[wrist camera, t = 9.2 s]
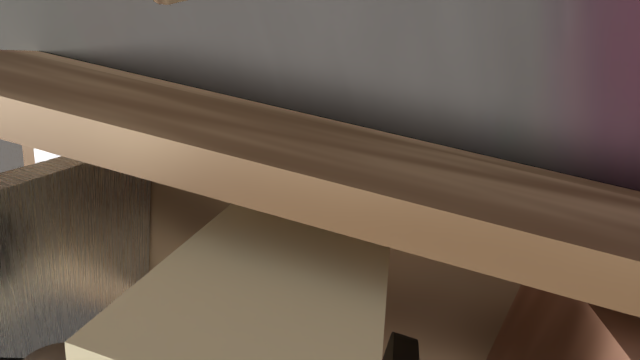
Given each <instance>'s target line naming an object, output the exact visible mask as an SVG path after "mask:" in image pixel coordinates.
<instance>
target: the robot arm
mask: <svg viewBox="0 0 640 360" xmlns="http://www.w3.org/2000/svg"><path fill="white" fill-rule="evenodd" d="M0 360H66V354H65V342H63V343H55V344H51V345H47V346H44V347H42V348H39V349H37V350H36V351H34V352H32V353H30V354H29V355H27V356H26V357H25V358H3V357H0ZM382 360H419V344H418V339H415V338H412V337H409V336H406V335H402V334H399V333H396V332H392V333H391V335H390V338H389V341H388V344H387V347H386V350H385V353H384V356H383V359H382Z"/></svg>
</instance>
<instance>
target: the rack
mask: <svg viewBox="0 0 640 360" xmlns="http://www.w3.org/2000/svg"><path fill="white" fill-rule="evenodd" d="M0 139H2V140H6V141H9V142H13V143H16V144H20V145H22V149H23V158H24V166H28V165H31V164H35V157H34V149H38V150H42V151H45V152H49V153H52V154H56V155H59V156H63V157H67V158H70V159H74V160H77V161H81V162H85V163H88V164H92V165H95V166H99V167H102V168H106V169H110V170H113V171H117V172H120V173H124V174H128V175H131V176H135V177H138V178H142V179H145V180H149V181H151V204H150V243H149V272H150V271H151V270H152V269H153V268H154V267H156V266H157V265H158V264H159V263H160V262H162V261H163V260H164V259H165V258H166V257H168V256H169V255H170V254H171V253H172V252H174V251H175V250H176V249H177V248H179V247H180V246H181V245H182V244H183V243H185V242H186V241H187V240H188V239H189V238H191V237H192V236H193V235H194V234H195V233H197V232H198V231H199V230H200V229H201V228H203V227H204V226H205V225H206V224H208V223H209V222H210V221H211V220H212V219H214V218H215V217H216V216H217V215H218V214H220V213H221V212H222V211H223V210H224V209H226V208H227V207H228V206H229V205H230V204H235V205H239V206H242V207H246V208H249V209H253V210H257V211H260V212H264V213H267V214H271V215H275V216H278V217H282V218H285V219H289V220H292V221H296V222H300V223H303V224H307V225H310V226H314V227H318V228H321V229H325V230H328V231H332V232H335V233H339V234H343V235H346V236H350V237H353V238H357V239H361V240H364V241H368V242H371V243H375V244H378V245H382V246H386V247H389V248H390V254H389V268H388V282H387V297H386V311H385V325H384V339H383V353H382V359H383V356H384V353H385V350H386V347H387V344H388V341H389V338H390V335H391V333H392V332H396V333H399V334H402V335H406V336H409V337H412V338H415V339H418V344H419V360H640V191H635V190H631V189H627V188H622V187H618V186H614V185H610V184H605V183H601V182H597V181H592V180H588V179H584V178H580V177H575V176H571V175H567V174H562V173H558V172H554V171H550V170H545V169H541V168H537V167H533V166H528V165H524V164H520V163H515V162H511V161H507V160H503V159H498V158H494V157H490V156H485V155H481V154H477V153H473V152H468V151H464V150H460V149H455V148H451V147H447V146H443V145H438V144H434V143H430V142H425V141H421V140H417V139H413V138H408V137H404V136H400V135H395V134H391V133H387V132H383V131H378V130H374V129H370V128H365V127H361V126H357V125H353V124H348V123H344V122H340V121H335V120H331V119H327V118H323V117H318V116H314V115H310V114H306V113H301V112H297V111H293V110H288V109H284V108H280V107H276V106H271V105H267V104H263V103H258V102H254V101H250V100H246V99H241V98H237V97H233V96H228V95H224V94H220V93H216V92H211V91H207V90H203V89H198V88H194V87H190V86H186V85H181V84H177V83H173V82H168V81H164V80H160V79H156V78H151V77H147V76H143V75H138V74H134V73H130V72H126V71H121V70H117V69H113V68H108V67H104V66H100V65H96V64H91V63H87V62H83V61H78V60H74V59H70V58H66V57H61V56H57V55H53V54H49V53H44V52H40V51H21V50H0Z"/></svg>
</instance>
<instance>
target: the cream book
mask: <svg viewBox="0 0 640 360" xmlns="http://www.w3.org/2000/svg"><path fill="white" fill-rule="evenodd" d="M389 254H390V248H389V247H386V246H382V245H378V244H375V243H371V242H368V241H364V240H361V239H357V238H353V237H350V236H346V235H343V234H339V233H335V232H332V231H328V230H325V229H321V228H318V227H314V226H310V225H307V224H303V223H300V222H296V221H292V220H289V219H285V218H282V217H278V216H275V215H271V214H267V213H264V212H260V211H257V210H253V209H249V208H246V207H242V206H239V205H235V204H230V205H229V206H228V207H227V208H226V209H224V210H223V211H222V212H221V213H220V214H218V215H217V216H216V217H215V218H214V219H212V220H211V221H210V222H209V223H208V224H206V225H205V226H204V227H203V228H201V229H200V230H199V231H198V232H197V233H195V234H194V235H193V236H192V237H191V238H189V239H188V240H187V241H186V242H185V243H183V244H182V245H181V246H180V247H179V248H177V249H176V250H175V251H174V252H172V253H171V254H170V255H169V256H168V257H166V258H165V259H164V260H163V261H162V262H160V263H159V264H158V265H157V266H156V267H154V268H153V269H152V270H151V271H150V272H148V273H147V274H146V275H145V276H143V277H142V278H141V279H140V280H139V281H137V282H136V283H135V284H134V285H133V286H131V287H130V288H129V289H128V290H127V291H125V292H124V293H123V294H122V295H121V296H119V297H118V298H117V299H116V300H114V301H113V302H112V303H111V304H110V305H108V306H107V307H106V308H105V309H104V310H102V311H101V312H100V313H99V314H98V315H96V316H95V317H94V318H93V319H92V320H90V321H89V322H88V323H87V324H86V325H84V326H83V327H82V328H81V329H79V330H78V331H77V332H76V333H75V334H73V335H72V336H71V337H70V338H69V339H67V340H66V341H65V354H66V360H382V353H383V339H384V325H385V311H386V297H387V282H388V268H389Z"/></svg>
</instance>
